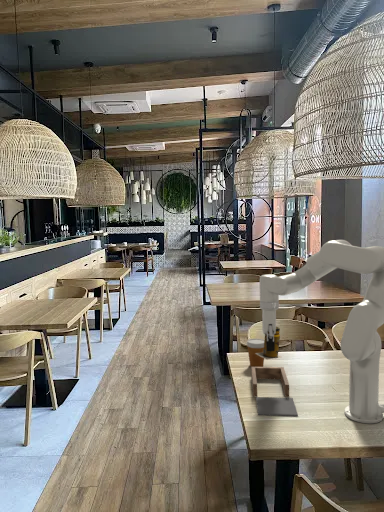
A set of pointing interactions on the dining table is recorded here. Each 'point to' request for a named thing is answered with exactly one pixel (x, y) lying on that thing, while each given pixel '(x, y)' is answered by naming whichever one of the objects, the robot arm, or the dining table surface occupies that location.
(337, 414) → the dining table surface
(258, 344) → the disposable coffee cup
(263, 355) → the condiment
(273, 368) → the frame
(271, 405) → the mat
